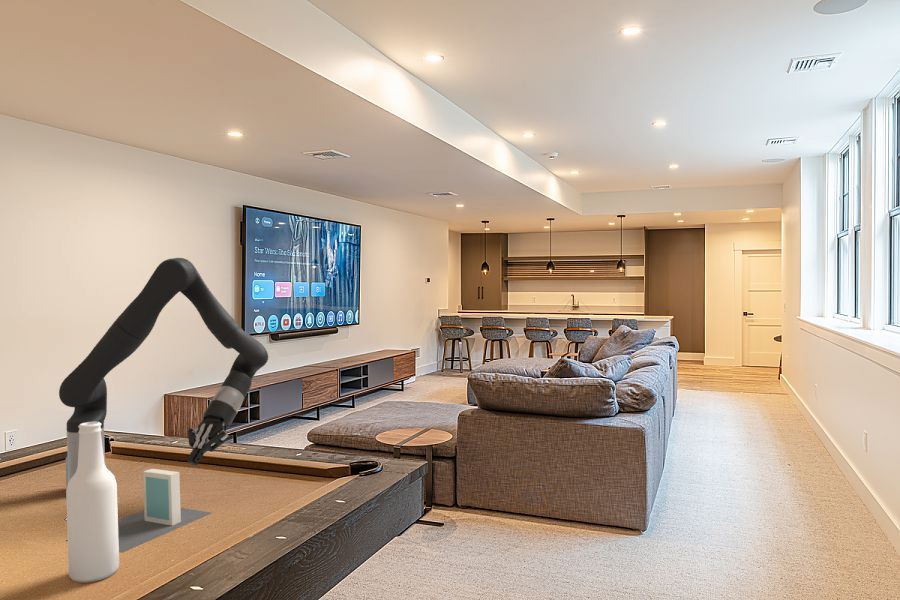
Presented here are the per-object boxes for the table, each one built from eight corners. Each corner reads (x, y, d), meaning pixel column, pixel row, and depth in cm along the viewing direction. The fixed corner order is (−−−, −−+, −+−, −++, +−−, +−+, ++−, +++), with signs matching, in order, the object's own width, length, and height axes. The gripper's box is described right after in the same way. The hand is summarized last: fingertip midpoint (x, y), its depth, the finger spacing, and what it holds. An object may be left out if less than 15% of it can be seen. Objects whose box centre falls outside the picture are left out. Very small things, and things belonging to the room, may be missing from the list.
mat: (65, 542, 146) (65, 540, 146) (159, 505, 170) (159, 504, 170) (122, 554, 139) (122, 552, 139) (212, 514, 163) (212, 512, 163)
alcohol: (65, 587, 124) (60, 430, 123) (72, 569, 132) (67, 421, 131) (117, 578, 127) (113, 425, 127) (120, 561, 136) (116, 417, 135)
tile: (144, 520, 158) (142, 471, 158) (153, 517, 161) (151, 468, 160) (171, 525, 154) (170, 475, 154) (180, 521, 157) (179, 472, 157)
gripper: (197, 397, 177) (163, 453, 166) (236, 399, 172) (203, 458, 161) (212, 413, 182) (180, 469, 171) (250, 416, 177) (219, 473, 166)
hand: (191, 463), depth 166 cm, fingers closed
